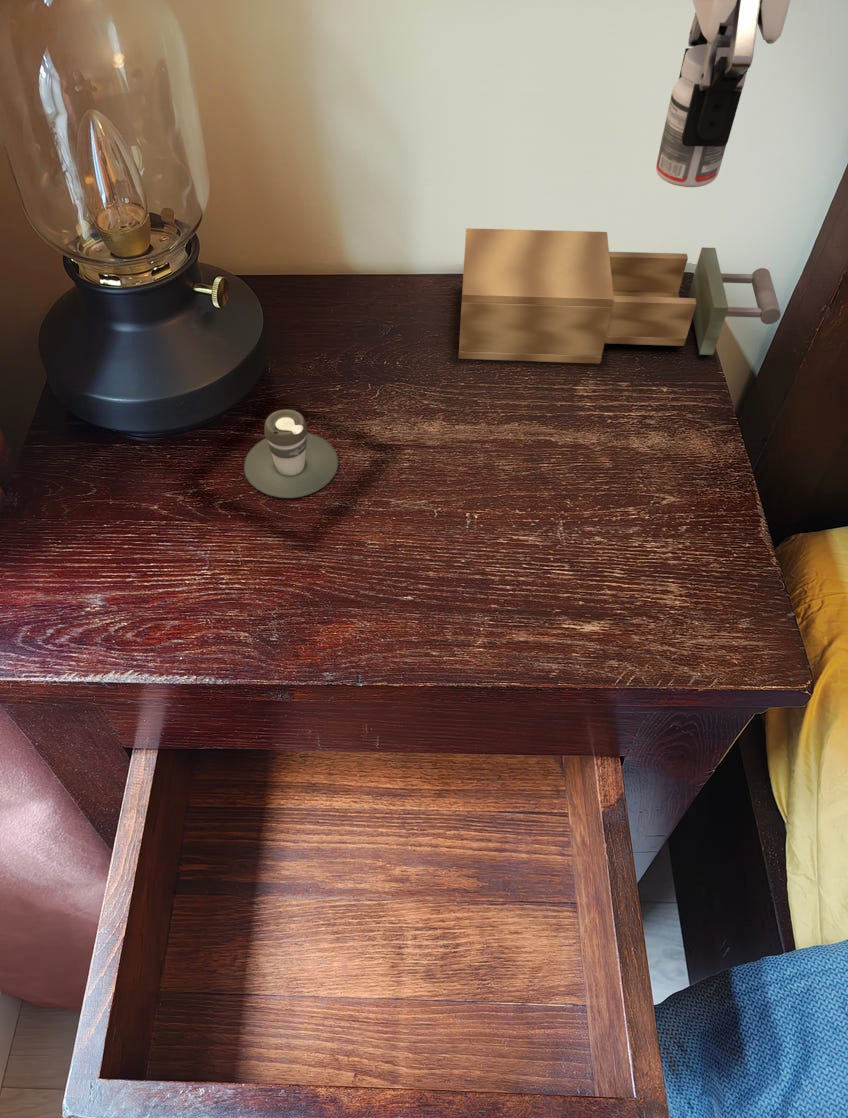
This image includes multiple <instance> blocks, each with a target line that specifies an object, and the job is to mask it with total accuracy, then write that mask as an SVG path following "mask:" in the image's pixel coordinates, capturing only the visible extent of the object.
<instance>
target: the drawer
mask: <svg viewBox="0 0 848 1118" xmlns="http://www.w3.org/2000/svg"><path fill="white" fill-rule="evenodd" d="M609 256H610V265H611V275H612V285H613V294H614V301H613V306H612V311H611V315H610V320H609V325H608V330H607V334H606V339H605V344H608V345H609V344H614V345H642V346H643V345H645V346H648V345H649V346H669V347H670V346H672V347H673V346H674V347H684V346H685V344H686V341H687V338H688V334H689V330H690V327H691V324H692V321H693V327H694V332H695V337H696V343H697V349H698V355H701V356H703V355H704V356H706V355H707V356H714V354H715V350H716V347H717V345H718V341H719V338H720V335H721V332H722V329H723V326H724V323H725V320H726V317H727V318H728V317H729V318H730V317H731V318H760V321H761V323H763V324H765V325H773V324H775V323H777V322H778V321H780V318H781V316H782V313H781V312H782V311H781V309H780V305H779V301H778V297H777V295H776V291H775V287H774V284H773V278H772V276H771V272H770V270H769V269H767V268H765V267H761V268H757V269H755V270H754V271H753V272H751V273H726V272H725V273H722V272H721V267H720V262H719V258H718V253H717V250H716V247H701V250H700V253H699V256H698V260H697V263H696V267H695V270H694V273H693V276H692V281H691V283H690V288H689V291H688V297H680V295H679V292H680V290H681V286H682V283H683V278H684V275H685V271H686V268H687V263H688V260H689V258H688V254H687V253H674V252H637V251H609ZM724 284H751V286H752V289H753V294H754V297H755V298H754V299H755V302H756V305H757V307H742V306H741V307H740V306H737V307H736V306H729V304H728V299H727V295H726V290H725V286H724Z"/></svg>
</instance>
